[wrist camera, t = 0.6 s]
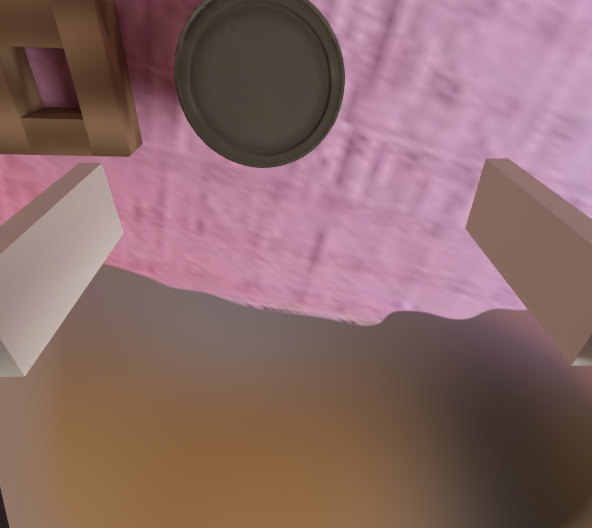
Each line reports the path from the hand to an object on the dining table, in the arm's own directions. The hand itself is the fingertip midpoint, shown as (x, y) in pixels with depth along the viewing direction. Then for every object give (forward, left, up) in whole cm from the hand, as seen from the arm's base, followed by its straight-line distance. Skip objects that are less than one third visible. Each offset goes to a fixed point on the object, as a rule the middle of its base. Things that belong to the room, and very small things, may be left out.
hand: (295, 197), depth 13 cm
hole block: (+1, -21, -27) cm, 34 cm away
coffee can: (-1, -2, -27) cm, 27 cm away
